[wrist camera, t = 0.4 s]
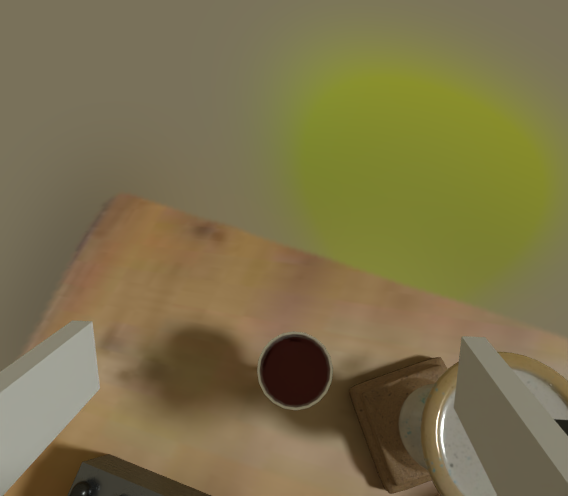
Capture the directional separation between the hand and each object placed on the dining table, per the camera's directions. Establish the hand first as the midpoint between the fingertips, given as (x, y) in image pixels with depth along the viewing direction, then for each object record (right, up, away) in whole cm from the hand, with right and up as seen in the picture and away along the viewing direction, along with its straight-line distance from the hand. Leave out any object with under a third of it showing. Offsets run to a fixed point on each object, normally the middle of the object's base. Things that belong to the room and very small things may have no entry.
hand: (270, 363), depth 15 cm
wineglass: (+2, -11, +34) cm, 35 cm away
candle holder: (+15, -15, +32) cm, 38 cm away
